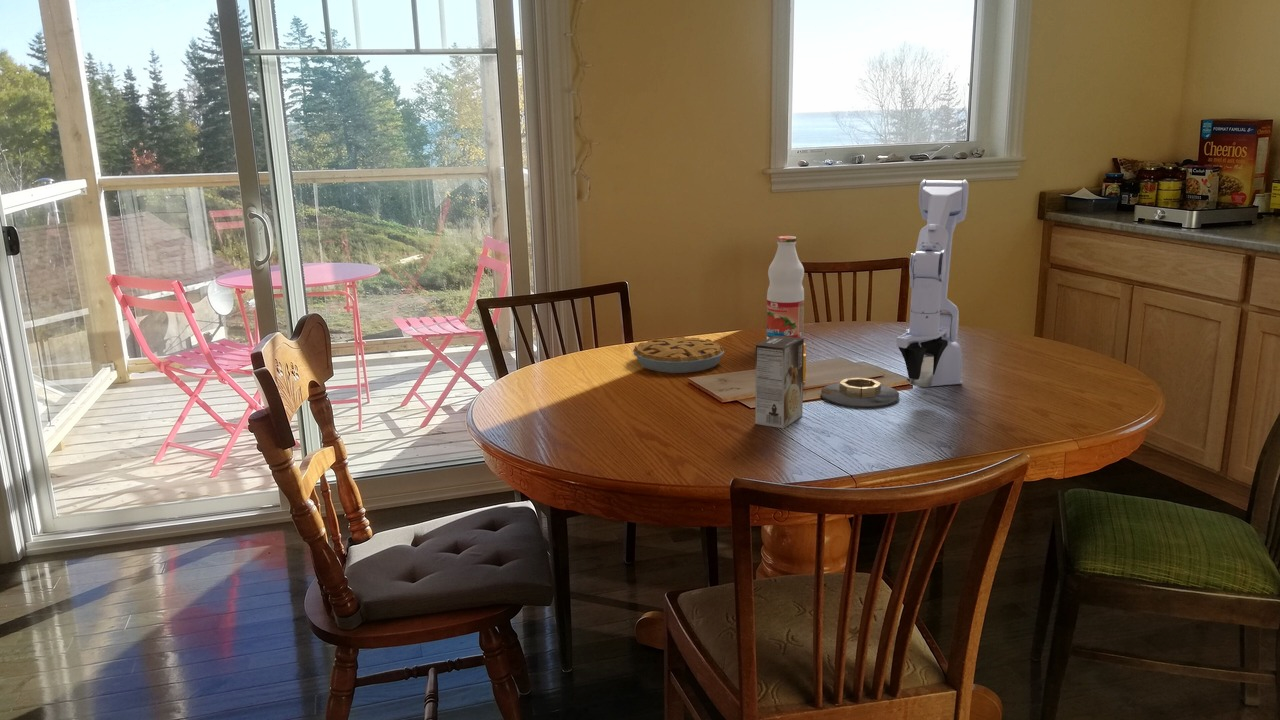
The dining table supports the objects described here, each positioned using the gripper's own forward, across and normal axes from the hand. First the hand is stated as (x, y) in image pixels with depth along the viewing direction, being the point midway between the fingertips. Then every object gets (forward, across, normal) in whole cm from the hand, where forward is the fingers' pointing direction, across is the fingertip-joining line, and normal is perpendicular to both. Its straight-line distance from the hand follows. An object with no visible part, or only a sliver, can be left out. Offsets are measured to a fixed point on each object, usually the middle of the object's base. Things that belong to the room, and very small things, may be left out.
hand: (921, 376), depth 195 cm
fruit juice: (+6, -16, -55) cm, 58 cm away
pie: (+7, +16, -59) cm, 62 cm away
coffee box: (+6, +29, -12) cm, 32 cm away
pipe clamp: (+7, +3, -32) cm, 33 cm away
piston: (+2, 0, 0) cm, 2 cm away
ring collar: (+6, +5, -12) cm, 14 cm away
